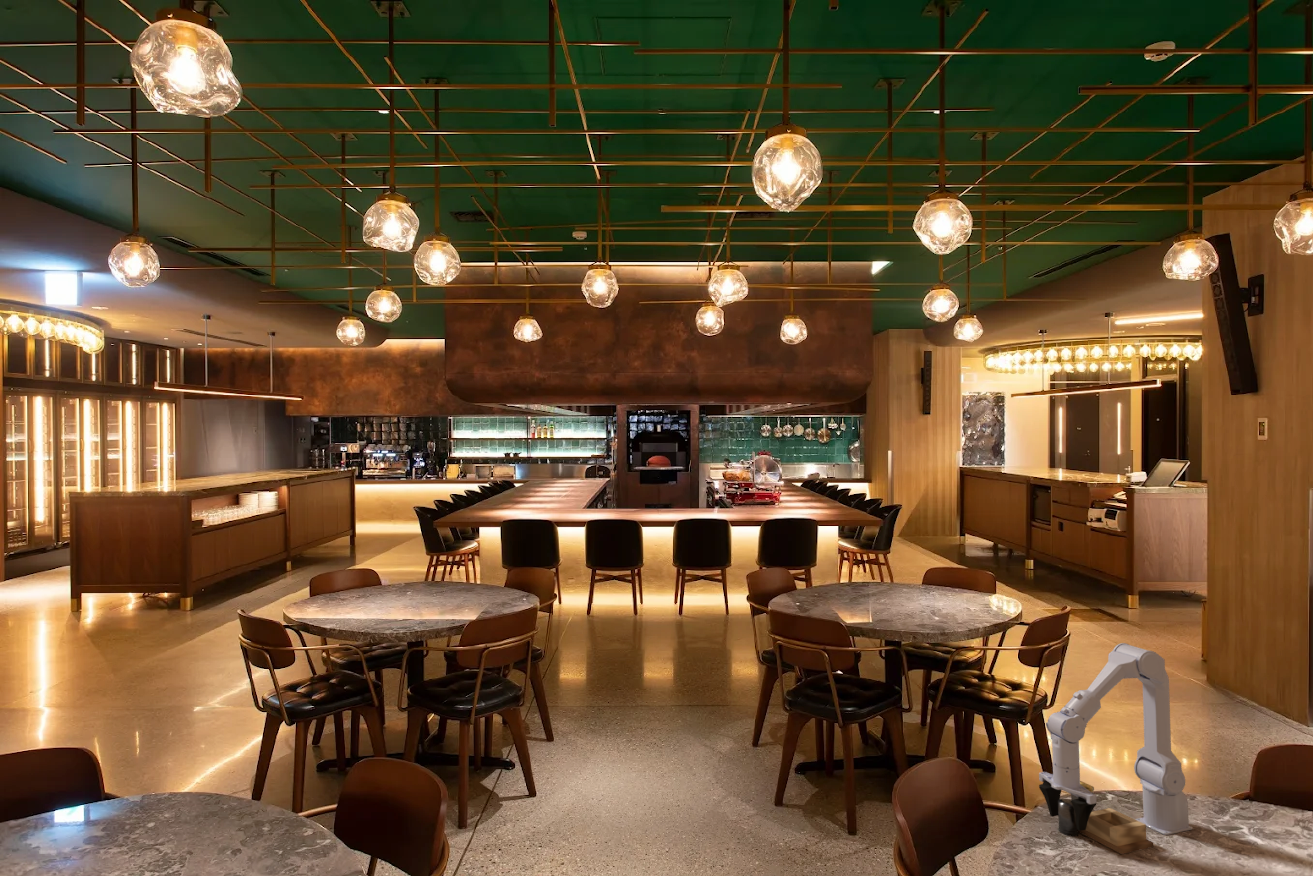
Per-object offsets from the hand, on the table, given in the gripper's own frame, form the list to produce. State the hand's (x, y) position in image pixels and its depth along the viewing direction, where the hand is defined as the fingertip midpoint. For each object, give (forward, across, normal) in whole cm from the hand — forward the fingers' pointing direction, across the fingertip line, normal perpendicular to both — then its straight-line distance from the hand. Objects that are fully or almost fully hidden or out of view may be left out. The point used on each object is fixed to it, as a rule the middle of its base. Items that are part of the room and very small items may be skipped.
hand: (1067, 822), depth 178 cm
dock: (+2, +4, +8) cm, 9 cm away
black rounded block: (+2, 0, 0) cm, 2 cm away
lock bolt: (-6, -4, +8) cm, 11 cm away
